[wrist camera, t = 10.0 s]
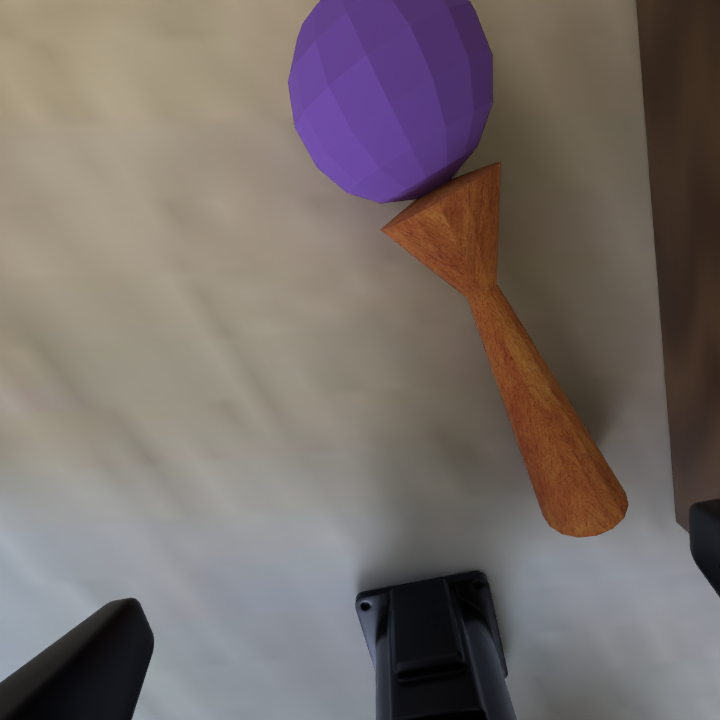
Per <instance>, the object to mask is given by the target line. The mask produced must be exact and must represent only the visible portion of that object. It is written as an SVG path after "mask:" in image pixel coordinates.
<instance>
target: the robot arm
mask: <svg viewBox="0 0 720 720" xmlns="http://www.w3.org/2000/svg"><path fill="white" fill-rule="evenodd" d="M689 535H690V550H691V554H692V557H693V559H694V561H695V563H696V565H697V566H698V568H699V569H700V571H701V572H702V573H703V575H704V576H705V578H706V579H707V580H708V582H709V583H710V585H711V586H712V587H713V589H714V590H715V591H716V593H717V594H718V596H719V597H720V499H712V500H706V501H700V502H695V503H693V504H692V505H691V506H690V508H689ZM477 581H480V583H478V584H474V583H475V582H477ZM363 602H368V604H364V603H363ZM355 605H356V611H357V614H358V617H359V620H360V623H361V627H362V630H363V633H364V636H365V639H366V643H367V646H368V649H369V652H370V655H371V658H372V662H373V665H374V668H375V671H376V720H517V718H516V715H515V711H514V708H513V705H512V701H511V698H510V695H509V691H508V688H507V685H506V681H505V678H506V677H507V675H508V671H507V666H506V662H505V657H504V652H503V648H502V643H501V638H500V634H499V629H498V624H497V620H496V615H495V610H494V606H493V601H492V596H491V592H490V587H489V583H488V580H487V577H486V575H485V574H484V573H483V572H480V571H472V572H467V573H461V574H456V575H450V576H445V577H440V578H434V579H429V580H423V581H418V582H413V583H407V584H402V585H396V586H391V587H386V588H380V589H375V590H369V591H364V592H361V593H359V594H358V595H357V597H356V604H355ZM153 648H154V636H153V633H152V630H151V628H150V626H149V623H148V621H147V618H146V616H145V614H144V611H143V609H142V607H141V604H140V603H139V601H138V600H136V599H135V598H127V599H121V600H115V601H111V602H109V603H107V604H106V605H105V606H103V607H102V608H100V609H99V610H98V611H96V612H95V613H94V614H92V615H91V616H90V617H88V618H87V619H86V620H84V621H83V622H82V623H80V624H79V625H78V626H76V627H75V628H74V629H72V630H71V631H69V632H68V633H67V634H65V635H64V636H63V637H61V638H60V639H59V640H57V641H56V642H55V643H53V644H52V645H51V646H49V647H48V648H47V649H45V650H44V651H42V652H41V653H40V654H38V655H37V656H36V657H34V658H33V659H32V660H30V661H29V662H28V663H26V664H25V665H24V666H22V667H21V668H20V669H18V670H17V671H16V672H14V673H13V674H11V675H10V676H9V677H7V678H6V679H5V680H3V681H2V682H1V683H0V720H132V717H133V714H134V711H135V707H136V704H137V701H138V698H139V695H140V691H141V688H142V685H143V682H144V679H145V676H146V672H147V669H148V666H149V663H150V660H151V656H152V653H153Z"/></svg>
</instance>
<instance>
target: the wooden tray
mask: <svg viewBox="0 0 720 720" xmlns="http://www.w3.org/2000/svg"><path fill="white" fill-rule="evenodd" d="M636 3H637V16H638V29H639V42H640V55H641V68H642V81H643V94H644V107H645V120H646V133H647V146H648V159H649V172H650V185H651V198H652V211H653V223H654V236H655V249H656V262H657V275H658V288H659V301H660V314H661V327H662V340H663V353H664V366H665V379H666V392H667V405H668V418H669V431H670V444H671V457H672V470H673V483H674V495H675V508H676V521H677V523H678V524H679V525H680V526H681V527H683V528H684V529H685V530H686V531H687V532H688V533H689V508H690V506H691V505H692V504H693V503H695V502H700V501H706V500H712V499H720V0H636Z"/></svg>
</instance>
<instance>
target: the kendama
mask: <svg viewBox="0 0 720 720" xmlns="http://www.w3.org/2000/svg"><path fill="white" fill-rule="evenodd" d="M288 85H289V92H290V98H291V105H292V111H293V118H294V125H295V128H296V130H297V132H298V134H299V136H300V138H301V139H302V141H303V143H304V145H305V147H306V148H307V150H308V152H309V154H310V156H311V158H312V159H313V161H314V163H315V165H316V166H317V168H318V169H319V170H320V171H322V172H323V173H324V174H325V175H326V176H328V177H329V178H330V179H331V180H332V181H334V182H335V183H336V184H337V185H338V186H339V187H341V188H342V189H343V190H344V191H345V192H347V193H349V194H352V195H355V196H359V197H362V198H365V199H369V200H372V201H375V202H379V203H388V202H396V201H404V200H412V199H416V200H415V201H414V202H413V203H412V204H410V205H409V206H408V207H407V208H406V209H405V210H403V211H402V212H401V213H400V214H399V215H397V216H396V217H395V218H394V219H393V220H391V221H390V222H389V223H388V224H387V225H385V226H384V227H383V228H382V229H381V231H383V232H384V233H385V234H387V235H388V236H389V237H390V238H392V239H393V240H394V241H395V242H397V243H398V244H399V245H401V246H402V247H403V248H404V249H406V250H407V251H408V252H409V253H411V254H412V255H413V256H415V257H416V258H417V259H418V260H420V261H421V262H422V263H424V264H425V265H426V266H427V267H429V268H430V269H431V270H432V271H434V272H435V273H436V274H438V275H439V276H440V277H441V278H443V279H444V280H445V281H446V282H448V283H449V284H450V285H452V286H453V287H454V288H455V289H457V290H458V291H459V292H460V293H462V294H463V295H464V296H466V297H467V299H468V302H469V305H470V308H471V310H472V313H473V316H474V319H475V322H476V325H477V328H478V330H479V333H480V336H481V339H482V342H483V345H484V348H485V351H486V353H487V356H488V359H489V362H490V365H491V368H492V371H493V374H494V376H495V379H496V382H497V385H498V388H499V391H500V394H501V396H502V399H503V402H504V405H505V408H506V411H507V414H508V417H509V419H510V422H511V425H512V428H513V431H514V434H515V437H516V440H517V442H518V445H519V448H520V451H521V454H522V457H523V460H524V462H525V465H526V468H527V471H528V474H529V477H530V480H531V483H532V485H533V488H534V491H535V494H536V497H537V500H538V503H539V506H540V508H541V511H542V514H543V516H544V518H545V520H546V521H547V523H548V524H549V526H550V527H552V528H553V529H555V530H556V531H558V532H560V533H561V534H565V535H569V536H574V537H588V536H597V535H599V534H601V533H604V532H606V531H608V530H611V529H613V528H614V527H615V526H616V525H617V524H618V523H619V522H620V521H621V520H622V519H623V518H624V517H625V514H626V511H627V508H628V501H627V497H626V493H625V491H624V489H623V488H622V486H621V485H620V483H619V481H618V480H617V478H616V476H615V475H614V473H613V472H612V470H611V468H610V467H609V465H608V463H607V462H606V460H605V459H604V457H603V455H602V454H601V452H600V450H599V449H598V447H597V446H596V444H595V442H594V441H593V439H592V437H591V436H590V434H589V433H588V431H587V429H586V428H585V426H584V424H583V423H582V421H581V420H580V418H579V416H578V415H577V413H576V411H575V410H574V408H573V407H572V405H571V403H570V402H569V400H568V398H567V397H566V395H565V394H564V392H563V390H562V389H561V387H560V385H559V384H558V382H557V381H556V379H555V377H554V376H553V374H552V372H551V371H550V369H549V368H548V366H547V364H546V363H545V361H544V359H543V358H542V356H541V355H540V353H539V351H538V350H537V348H536V346H535V345H534V343H533V342H532V340H531V338H530V337H529V335H528V333H527V332H526V330H525V329H524V327H523V325H522V324H521V322H520V320H519V319H518V317H517V316H516V314H515V312H514V311H513V309H512V307H511V306H510V304H509V303H508V301H507V299H506V298H505V296H504V294H503V293H502V291H501V290H500V288H499V286H498V285H497V262H498V230H499V198H500V166H501V161H500V162H497V163H494V164H491V165H489V166H486V167H483V168H480V169H478V170H475V171H472V172H469V173H467V174H464V175H461V176H459V177H456V178H453V179H452V177H453V176H454V175H455V174H456V172H457V171H458V170H459V169H460V167H461V166H462V165H463V164H464V162H465V161H466V160H467V159H468V158H469V156H470V155H471V154H472V153H473V151H474V150H475V149H476V148H477V146H478V144H479V141H480V138H481V135H482V132H483V129H484V127H485V124H486V121H487V118H488V115H489V112H490V109H491V106H492V104H493V55H492V52H491V50H490V47H489V45H488V42H487V39H486V37H485V34H484V32H483V29H482V27H481V24H480V22H479V19H478V17H477V14H476V11H475V9H474V8H473V6H472V4H471V2H470V1H469V0H320V2H319V3H318V4H317V5H316V6H315V8H314V9H313V10H312V12H311V13H310V15H309V16H308V17H307V19H306V20H305V21H304V23H303V24H302V27H301V29H300V32H299V35H298V38H297V42H296V47H295V52H294V56H293V61H292V66H291V71H290V76H289V80H288Z"/></svg>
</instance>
